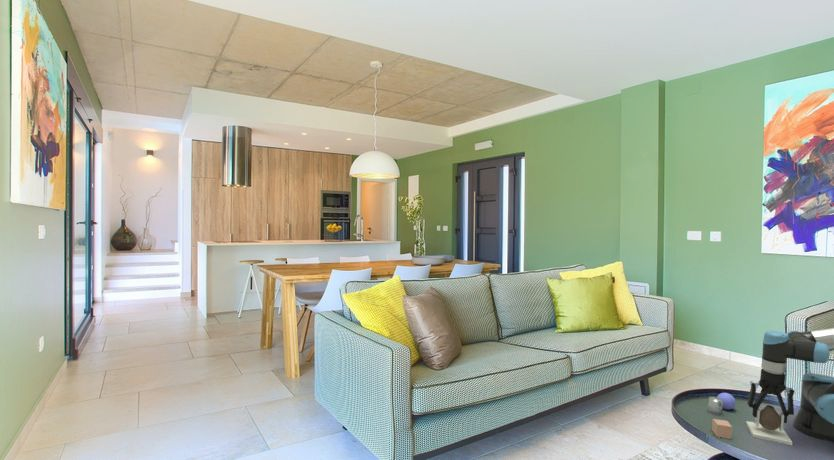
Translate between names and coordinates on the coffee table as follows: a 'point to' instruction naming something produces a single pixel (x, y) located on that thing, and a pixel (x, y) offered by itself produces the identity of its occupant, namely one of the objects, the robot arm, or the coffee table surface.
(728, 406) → the sphere
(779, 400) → the robot arm
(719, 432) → the terracotta block
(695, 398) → the coffee table surface
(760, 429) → the board
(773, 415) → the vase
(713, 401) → the metal tin
